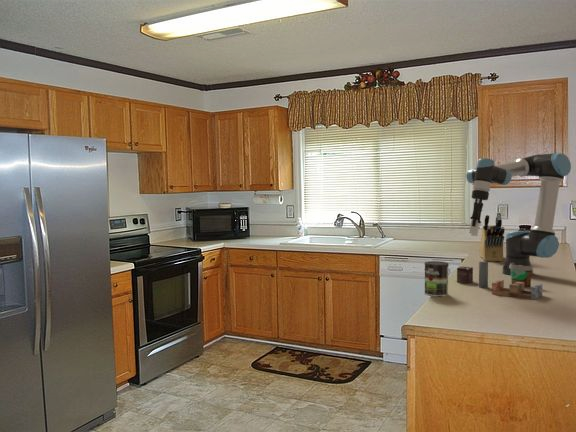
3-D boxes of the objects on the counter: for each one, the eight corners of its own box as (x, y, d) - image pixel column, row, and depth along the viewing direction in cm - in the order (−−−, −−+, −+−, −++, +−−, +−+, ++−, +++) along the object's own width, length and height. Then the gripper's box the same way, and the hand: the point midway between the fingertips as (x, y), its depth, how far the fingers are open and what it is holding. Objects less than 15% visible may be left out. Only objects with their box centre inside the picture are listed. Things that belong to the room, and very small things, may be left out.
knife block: (485, 263, 317) (486, 212, 315) (478, 255, 351) (479, 209, 349) (505, 264, 314) (506, 212, 312) (496, 256, 348) (497, 209, 347)
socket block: (500, 290, 238) (500, 279, 238) (542, 295, 226) (542, 284, 226) (491, 294, 231) (492, 282, 230) (535, 299, 219) (535, 287, 218)
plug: (480, 285, 249) (480, 261, 249) (489, 286, 247) (489, 261, 246) (477, 287, 246) (477, 262, 246) (485, 288, 244) (486, 262, 243)
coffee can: (441, 297, 225) (441, 265, 224) (420, 294, 232) (420, 263, 232) (452, 294, 232) (452, 262, 232) (432, 290, 240) (432, 260, 239)
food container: (503, 283, 254) (503, 263, 254) (512, 282, 256) (513, 262, 256) (522, 288, 243) (522, 266, 242) (532, 287, 245) (533, 266, 244)
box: (461, 280, 264) (461, 266, 263) (473, 281, 260) (473, 267, 260) (456, 282, 259) (456, 267, 259) (468, 283, 255) (468, 268, 255)
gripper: (474, 193, 261) (467, 235, 260) (470, 185, 238) (463, 231, 237) (490, 195, 258) (482, 238, 257) (488, 187, 235) (480, 234, 234)
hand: (473, 234), depth 247 cm, fingers open, 13 cm apart
